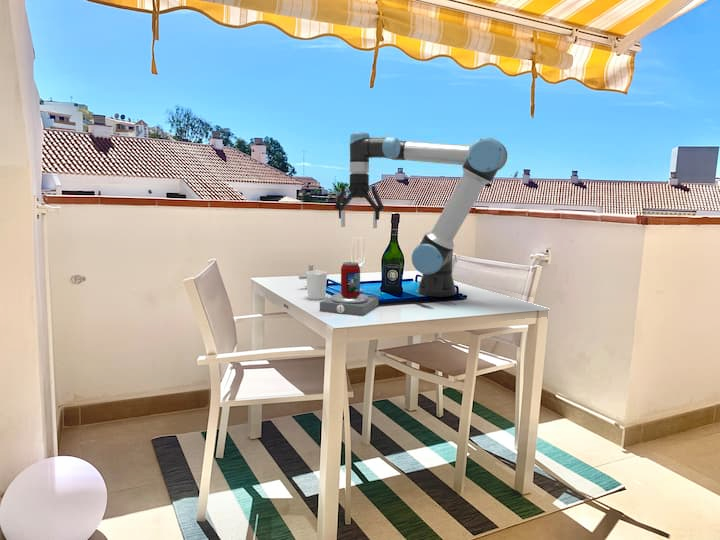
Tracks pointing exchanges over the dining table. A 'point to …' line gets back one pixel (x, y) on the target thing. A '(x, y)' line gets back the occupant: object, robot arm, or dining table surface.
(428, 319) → the dining table surface
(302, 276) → the pipe connector
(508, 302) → the dining table surface
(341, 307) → the scale
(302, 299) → the dining table surface
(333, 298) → the platter
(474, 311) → the dining table surface
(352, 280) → the beverage can
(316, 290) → the white cup
